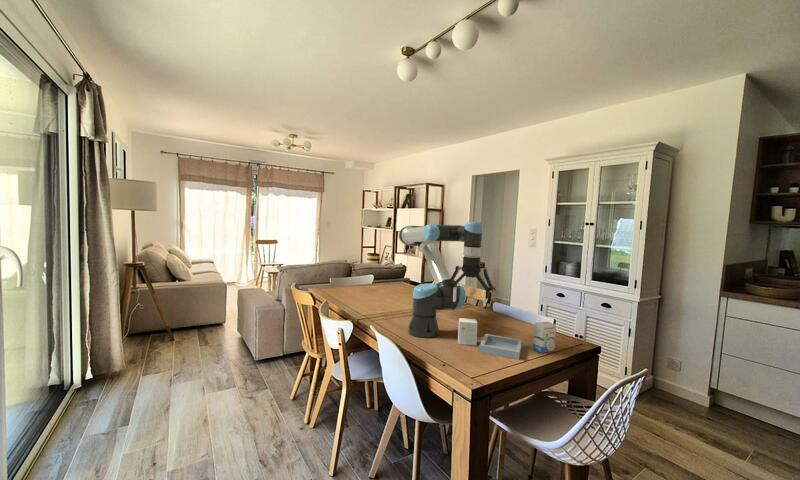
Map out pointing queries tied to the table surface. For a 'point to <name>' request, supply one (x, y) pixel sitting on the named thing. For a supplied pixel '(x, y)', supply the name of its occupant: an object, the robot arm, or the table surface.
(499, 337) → the tray
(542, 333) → the ink box
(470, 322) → the small box
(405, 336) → the table surface
